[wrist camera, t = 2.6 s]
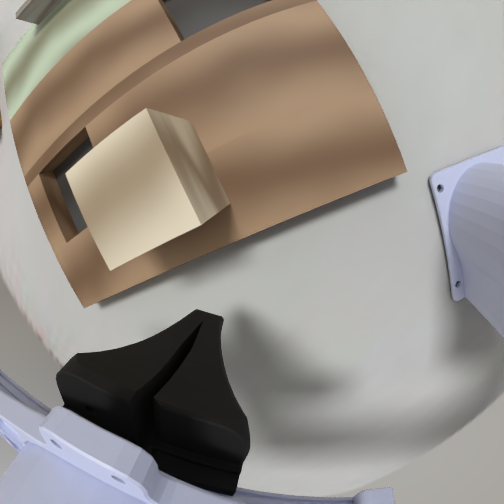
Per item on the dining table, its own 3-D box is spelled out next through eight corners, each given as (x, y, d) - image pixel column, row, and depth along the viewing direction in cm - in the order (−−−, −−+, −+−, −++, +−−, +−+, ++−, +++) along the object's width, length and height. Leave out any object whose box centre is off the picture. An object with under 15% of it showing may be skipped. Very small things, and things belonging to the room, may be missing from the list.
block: (230, 203, 15) (201, 224, 10) (157, 239, 16) (110, 270, 11) (191, 121, 14) (145, 108, 9) (122, 165, 15) (65, 173, 10)
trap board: (394, 169, 15) (432, 175, 10) (97, 297, 21) (61, 327, 16) (221, -83, 9) (207, -116, 4) (15, 65, 15) (-19, 61, 10)
